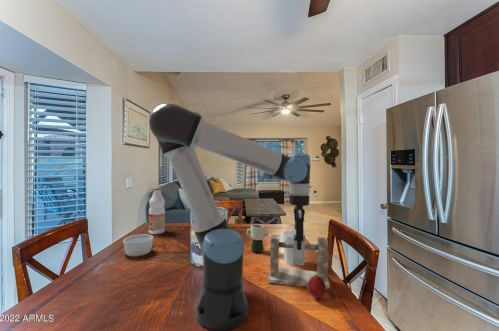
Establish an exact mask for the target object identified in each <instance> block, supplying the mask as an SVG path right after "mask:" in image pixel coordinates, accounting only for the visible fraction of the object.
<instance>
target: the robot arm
mask: <svg viewBox="0 0 499 331" xmlns="http://www.w3.org/2000/svg"><path fill="white" fill-rule="evenodd" d="M148 120H149V128H150V131H151V133H152V135H153V136H154V137H155V138H156V140H157V142H158V145H159V148H160V149H161V150H160V151H161V153H162V155H163V156H164V157H166V158H168V159H169V160H170V163H171V165H172V167H173V170H174V173H175V175H176V178H177V180H178V182H179V185H180V188H181V190H182V192H183V195H184V197H185V200H186V202H187V205H188V208H189V211H190V212H191V214H192V217H193V220H194V222H195V225H194V227H193V232H194V235H195V238H196V240H197V243H198V244H199V248H200V250H201V256H202V262H203V263H202V264H203V266H202V268H203V269H202V273H203V274H202V288H201V289H202V290H201V293H200V296H199V299H198V301H197V303H196V304H197V305H196V320H197V322H198V323H199V324H200V325H201V326H202V327H204V328H206V329H208V330H212V331H227V330H231V329H234V328H237V327H239V326H240V325H242V324H243V323H244V322H245V321H246V320H247V318H248V315H249V304H248V303H249V302H248V300H247V297H246V292H245V291H244V287H243V280H244V279H243V278H244V277H243V276H244V275H243V274H244V273H243V272H244V269H243V268H244V249H245V248H244V247H245V246H244V240H243V239H244V238H243V237H242V235H241V234H240V233H239V231H238V232H237V231H236V230H233V229H230V226H229V223H228V221H227V218H226V216H225V215H224V214H221V213H220V212H219V210H218V206H217V203H216V202H215V199H214V196H213V194H212V192H211V188H210V186H209V183H208V181H207V177H206V176H205V173H204V171H203V168H202V166H201V163H200V160H199V158H198V156H197V153H196V150H195V149H196V147H198V148H200V149H203V150H205V151H208V152H209V153H210V152H211V153H213V154H216V155H218V156H221V157H224V158H226V159H229V160H231V161H234V162H237V163H239V164H242V165H245V166H247V167H249V168H253V169H254V170H258V172H259V175H260V177H261V178H262V179H265V180H277V181H284V182H289V197H288V198H289V201H288V202H289V204H290V205H292V206H294V208H293V217H294V229H296V239H294V240H295V258H303V240H304V238H303V229H304V222H305V212H306V211H305V208H304V206H305V207H306V206H309V205H310V197H311V196H310V195H309V194H310V189H311V188H312V186H311V184H310V183H311V182H310V181H311V166H312V165H311V156H310V155H309V154H307V153H291V154H290V156H288V155H286V154H283V153H281V152H278V151H276V150H274V149H272V148H269V147H267V146H265V145H263V144H260V143H257V142H255V141H253V140H251V139H247V138H245V137H243V136H241V135H238V134H236V133H234V132H231V131H229V130H227V129H225V128H222V127H219V126H217V125H215V124H213V123H210V122H208V121H206V120H205V118H204V116H203V115H200V114H198V113H195V112H193V111H192V110H189V109H187V108H185V107H183V106H181V105H178V104H176V103H175V104H174V103H162V104H160V105H159V106H157V107H155V108H154V109H153V111H152V112H151V114H150V116H149V119H148Z"/></svg>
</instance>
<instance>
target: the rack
mask: <svg viewBox="0 0 499 331" xmlns="http://www.w3.org/2000/svg"><path fill="white" fill-rule="evenodd" d="M280 248H294V243H287V242H282V241H280V234H271V236H270V257H269V258H270V259H269V261H270V262H269V267H270V268H269V272H268V273H269V274H268V279H267V280H268V281H267V283H268V284H270V283H274V284H273V285H280V284H286V285H285V286H291V285H298V286H297V287H301V286H308V282H309V280H310V279H311V278H312V277H314V276H315V274H317V275H318V276H319V277H320V278H322V280H323V281H324V283H325V285H326V288H330V289H331V285H330V284H331V283H330V281H329V279H328V271H329V270H328V265H329V264H328V263H329V242H328V239H327V238H326V237H317V244H315V243H314V244H311V243H305V250H312V251H317V264H316V268H317V269H316V270H317V271H313V270H303V269H302V270H301V269H291V268H279V267H280V266H279V264H280V263H279V262H280V261H279V260H280V259H279V258H280Z"/></svg>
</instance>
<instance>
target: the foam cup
mask: <svg viewBox="0 0 499 331" xmlns="http://www.w3.org/2000/svg"><path fill="white" fill-rule="evenodd" d="M281 240H282V241H281V242H287V243H293V230H284V231H282V232H281ZM283 258H284V263H285V262H286V263H287V264H286V263H285V264H286V265H289V264H290V265H289V266H296V265H295V264H293V248H283Z"/></svg>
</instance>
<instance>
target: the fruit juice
mask: <svg viewBox="0 0 499 331" xmlns="http://www.w3.org/2000/svg"><path fill="white" fill-rule="evenodd" d="M152 191H153V192H152V196H151V198H150V199H149V202H148V204H149V208H148V233H149V235H159V234H164V232H165V231H166V230H165V228H166V227H165V224H166V221H165V220H166V217H165V216H166V208H165V203H166V200H165V198H164V197H163V195H162V187H160V186H159V187H153V188H152Z"/></svg>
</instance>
